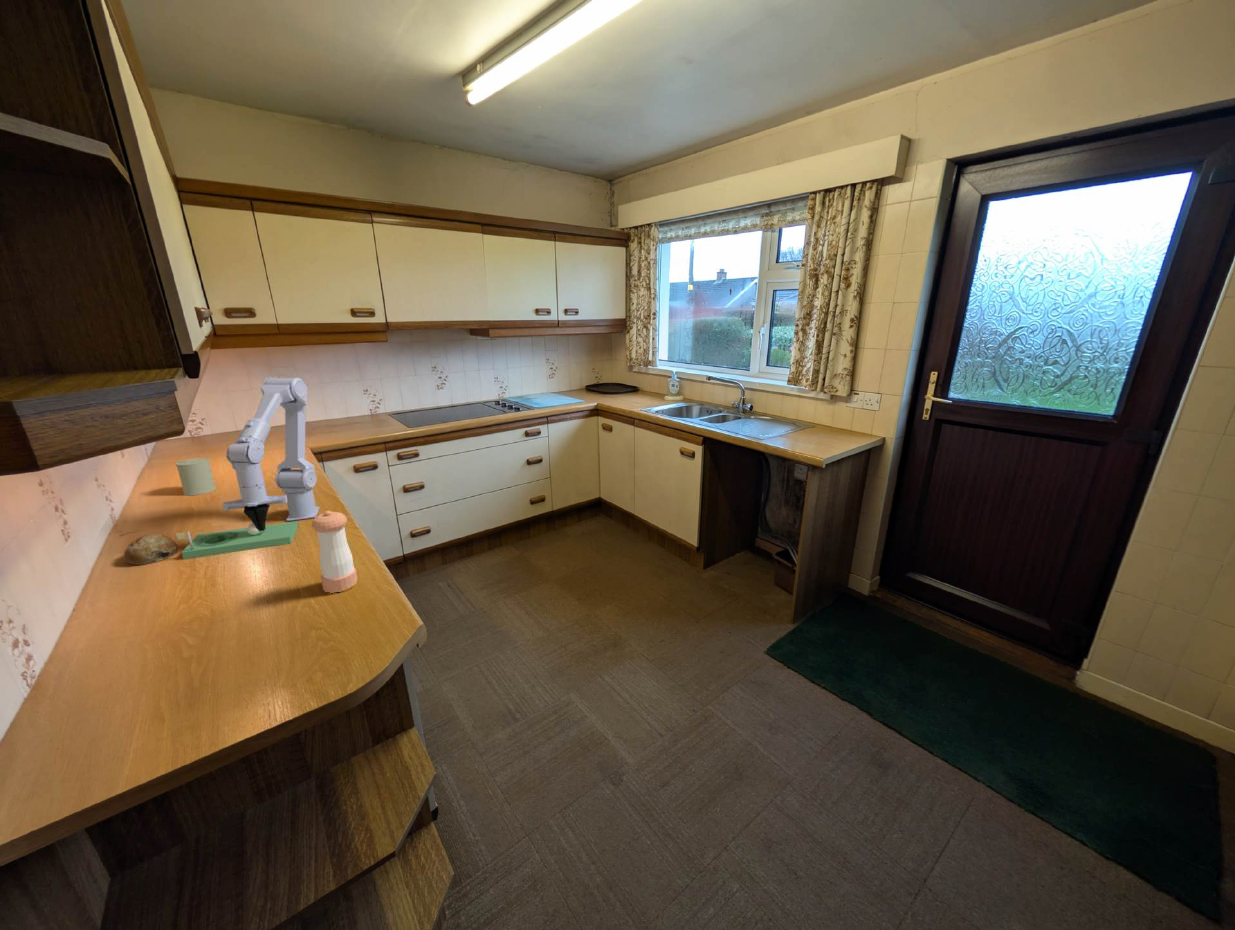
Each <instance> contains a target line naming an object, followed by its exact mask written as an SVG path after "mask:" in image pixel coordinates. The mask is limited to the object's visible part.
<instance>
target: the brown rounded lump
mask: <svg viewBox="0 0 1235 930" xmlns="http://www.w3.org/2000/svg"><path fill="white" fill-rule="evenodd" d="M177 551H178V544H177V542H176V541H175V540H174V539H173V538H170V537H169V536H165V535H164V534H156V533H155V534H154V533H153V534H146V535H142V536H140V537H139V536H138V538H136V539H134V540H133V541H132V542H131V543H130V544H128V545H127V548H126V549H125V550H124V552H123V558H124V559H125V562H126V563H128V564H131V565H133V566H134V565H135V566H136V565H138V566H139V565H149V564H153V563H159V562H162V561H163V560H166V559H168V558H170V557H171V556H173V555H175V554H177Z"/></svg>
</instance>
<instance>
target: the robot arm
mask: <svg viewBox="0 0 1235 930" xmlns="http://www.w3.org/2000/svg"><path fill="white" fill-rule="evenodd" d="M260 390H261V391H260V392H261V394H262V397H261V399H260V402H259V404H258V406H257V410H256V413H255V416H254V418H251V419H248V420H247V421H246V423H245V424H244V426H243V428H242V430H241V432H240V434H239V435H238V438H237V439H236V442H233V443H232V444H230V445H229V446H228V447H227V450H226V454H225V458H226V460H227V461H228V462H229V464H231V467H232V469H233V470H234V471H235V475H236V479H237V480H236V481H237V482H238V483H237V484H238V488H239V493H240V496H241V499H236V500H232V501H231V500H229V501H224V502H223V503H222V504H221V505H222V510H223V511H224V512H226V511H229V510H236V509H243V513H244V515H246V516H247V517H248V519H250V520H251V523H254V525H255V526H256V528H257V529H258V530H259V531H264V530H265V525H266V522H267V515H268V512H269V508H270V506H271V505H277V504H282V505H284V504H286V505H287V509H288V516H287V518H286V522H294V521H299V520H308V519H314V518H316V517H317V516H318V513H319V511H320V506H318V505H316V504H317V503H316V500H315V495H314V490H313V488H314V487H315V486H316V484H317V481H318V480H317V479H318V477H317V474H316V471H315V465H314V464H313V463H311V462H310V461H308V460H307V459H306V406H307V405H308V386H307V384H306V383H305V382H304V381H303V379H302V378H301V377H290V378H289V377H266V378H264V380H263V381H262V385H261V386H260ZM279 407H282V408H283V409H284V411H285V413H284V417H285V420H284V421H285V422H284V426H285V431H284V433H285V434H284V435H285V436H284V439H285V440H284V444H285V445H284V450H285V453H284V455H285V456H284V460H283V461H282V462H280V463H279V464H278V465H277V471H276V474H275V477H274V481H275V484H276V486H277V488H279V489H281V491H282V492H283V493H284V495H283V494H282V495H268V494H267V488H266V483H265V480H264V479H265V478H264V475H263V470H262V469H263V468H262V465H261V461H263V459H264V456H265V442H266V440H267V438H268V435H269V434H270V431H271V429H272V428H271V426H270V424H269V423H270V421H271V419H272V418H273V417H274V415H275V413H276V412H277V410H278V408H279Z"/></svg>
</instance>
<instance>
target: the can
mask: <svg viewBox="0 0 1235 930" xmlns="http://www.w3.org/2000/svg"><path fill="white" fill-rule="evenodd" d="M175 465H176V467H177V473H178V475H179V478H180V483H181V485H182V491H183V495H184V496H199V495H200V496H201V495H204V494H209V493H212V492H214V491H216V490H217V487H216V484H215V479H214V476H213V473H212V468H211V463H210V459H209V458H208V457H194V458H193V457H192V458H189V459H188V458H187V459H182V460H180V461H177V462H176V463H175Z"/></svg>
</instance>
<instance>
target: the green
mask: <svg viewBox="0 0 1235 930" xmlns="http://www.w3.org/2000/svg"><path fill="white" fill-rule="evenodd" d="M298 528H299V525H298V520H294V521H286V522H281V523H273V524H265V530H264V531H262V532H261V533H260V534H258V535H251V534H249V533H248V531H247V527H245V528H237V529H228V530H221V531H215V532H205V533H198V534H196V536H194V538H193V539H192V537H191V533H190V531H187V532H179V533H176V534H175V536H176V539H177V540H183V539H184V540H185V539H187V540H188V545H187V546H185V548H183V550H182V552H181V556H182V559H183V560H187V559H188V560H189V559H195V558H201V557H202V558H203V557H207V556H208V557H209V556H214V555H221V554H222V555H223V554H228V553H229V554H230V553H234V552H241V551H242V552H243V551H248V550H256V549H261V548H267V547H269V548H270V547H276V546H282V545H289V544H292V541H293V539H294V537H295V536H296V532H297V531H298Z"/></svg>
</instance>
